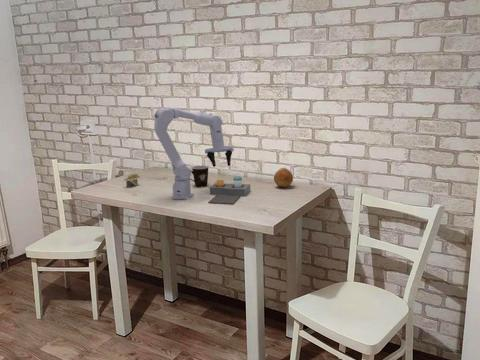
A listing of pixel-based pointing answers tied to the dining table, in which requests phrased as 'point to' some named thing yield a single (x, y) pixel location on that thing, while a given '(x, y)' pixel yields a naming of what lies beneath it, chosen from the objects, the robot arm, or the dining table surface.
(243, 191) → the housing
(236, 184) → the cylinder
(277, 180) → the onion
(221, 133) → the robot arm
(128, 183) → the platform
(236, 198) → the mat
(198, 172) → the coffee mug
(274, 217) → the dining table surface
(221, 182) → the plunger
